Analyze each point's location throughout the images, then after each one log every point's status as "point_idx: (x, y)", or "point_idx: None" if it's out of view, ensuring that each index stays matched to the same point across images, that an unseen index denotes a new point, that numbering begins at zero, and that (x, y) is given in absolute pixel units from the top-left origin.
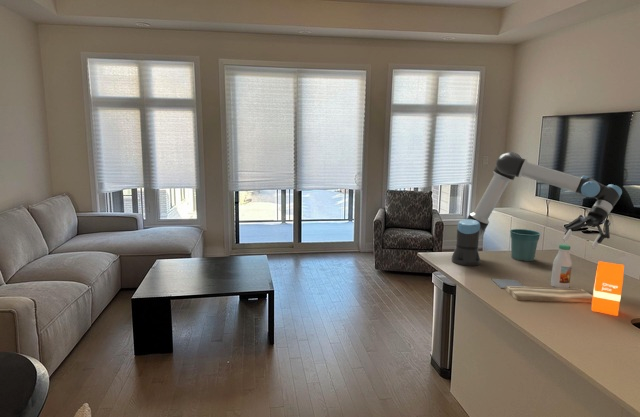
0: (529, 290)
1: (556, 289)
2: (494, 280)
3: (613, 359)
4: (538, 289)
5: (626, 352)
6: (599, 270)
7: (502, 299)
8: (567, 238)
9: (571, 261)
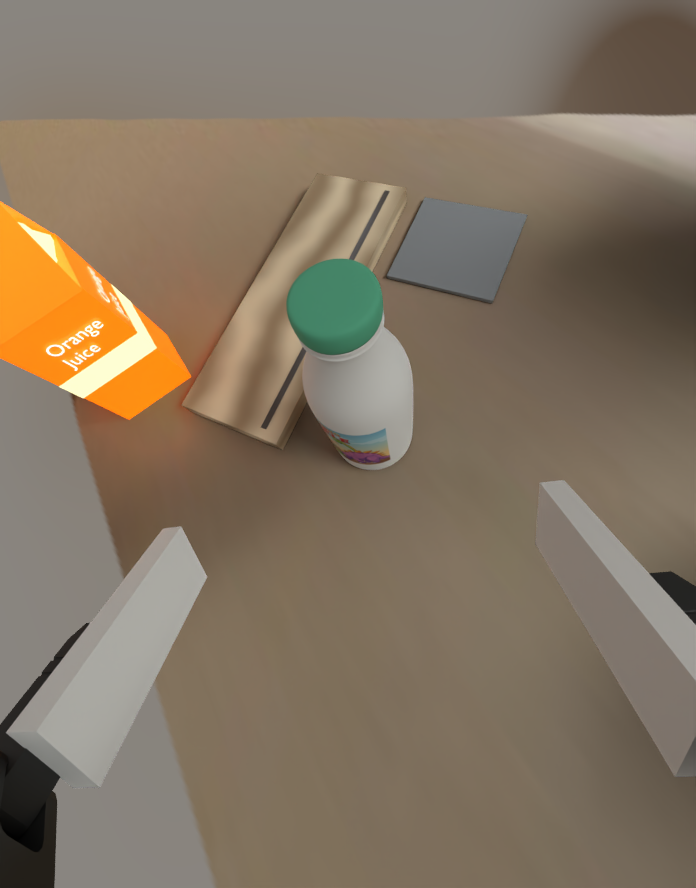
0: (337, 233)
1: None
2: (507, 216)
3: (38, 181)
4: None
5: None
6: (24, 225)
7: (340, 155)
8: (565, 570)
9: (307, 395)
